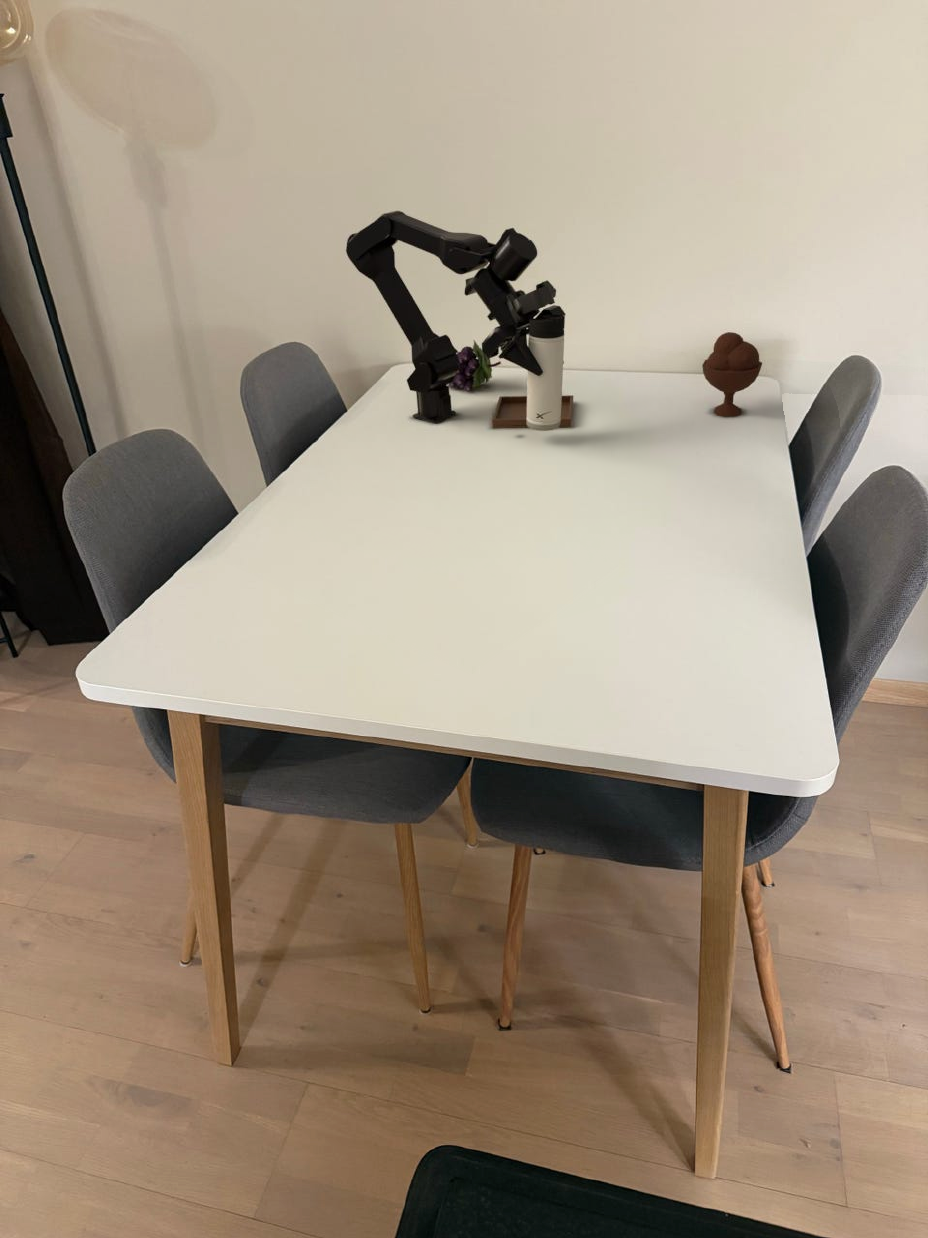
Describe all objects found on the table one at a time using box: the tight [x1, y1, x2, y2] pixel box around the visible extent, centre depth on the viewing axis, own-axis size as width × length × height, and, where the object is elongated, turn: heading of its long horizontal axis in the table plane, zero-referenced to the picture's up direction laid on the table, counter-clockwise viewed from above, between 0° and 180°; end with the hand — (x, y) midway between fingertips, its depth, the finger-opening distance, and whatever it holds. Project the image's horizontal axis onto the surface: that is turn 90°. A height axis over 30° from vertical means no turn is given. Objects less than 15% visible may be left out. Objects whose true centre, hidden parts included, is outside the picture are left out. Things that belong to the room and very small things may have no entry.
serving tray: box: [491, 394, 574, 429], centre depth 180 cm, size 15×14×2 cm
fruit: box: [448, 340, 502, 392], centre depth 195 cm, size 10×11×15 cm
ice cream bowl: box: [701, 331, 763, 418], centre depth 172 cm, size 11×11×15 cm
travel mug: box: [526, 315, 566, 432], centre depth 161 cm, size 6×7×20 cm
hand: (551, 369), depth 160 cm, fingers closed on travel mug, 6 cm apart
